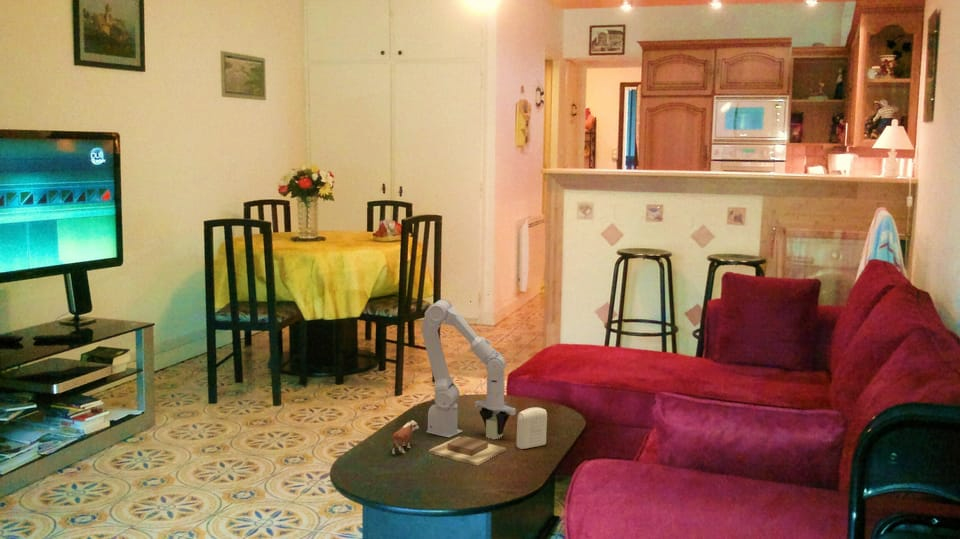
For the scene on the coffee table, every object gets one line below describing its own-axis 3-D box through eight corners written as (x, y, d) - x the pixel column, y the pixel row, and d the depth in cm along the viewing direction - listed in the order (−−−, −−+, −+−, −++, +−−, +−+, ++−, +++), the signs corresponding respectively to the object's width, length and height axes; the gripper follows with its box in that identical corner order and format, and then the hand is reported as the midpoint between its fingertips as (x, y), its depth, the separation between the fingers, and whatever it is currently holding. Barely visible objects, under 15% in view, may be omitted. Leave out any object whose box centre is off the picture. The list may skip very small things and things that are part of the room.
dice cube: (488, 416, 306) (488, 402, 305) (495, 413, 310) (496, 399, 309) (499, 419, 303) (500, 405, 302) (507, 415, 307) (508, 402, 306)
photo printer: (540, 441, 280) (541, 404, 279) (548, 445, 277) (549, 407, 275) (514, 446, 275) (515, 408, 273) (522, 450, 271) (523, 412, 270)
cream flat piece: (428, 453, 267) (428, 443, 267) (458, 439, 280) (458, 430, 280) (477, 465, 257) (477, 455, 257) (505, 450, 271) (506, 441, 270)
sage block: (485, 437, 283) (486, 419, 282) (492, 434, 286) (492, 416, 285) (496, 440, 281) (496, 422, 280) (502, 436, 284) (503, 419, 283)
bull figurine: (420, 444, 275) (421, 419, 274) (399, 457, 263) (399, 431, 262) (408, 442, 277) (409, 417, 276) (387, 455, 265) (387, 429, 264)
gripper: (520, 393, 281) (519, 433, 283) (483, 385, 289) (482, 425, 291) (509, 397, 275) (508, 439, 277) (471, 390, 283) (470, 430, 285)
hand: (494, 432), depth 283 cm, fingers closed on sage block, 4 cm apart
